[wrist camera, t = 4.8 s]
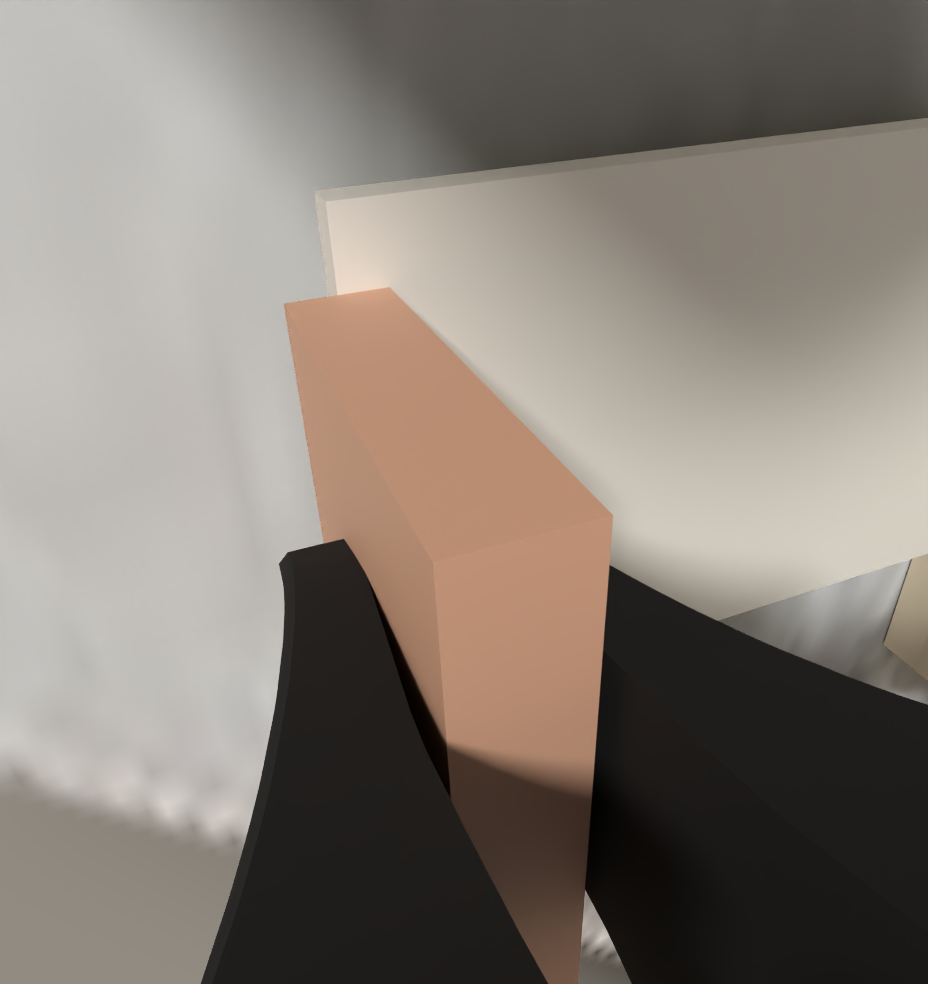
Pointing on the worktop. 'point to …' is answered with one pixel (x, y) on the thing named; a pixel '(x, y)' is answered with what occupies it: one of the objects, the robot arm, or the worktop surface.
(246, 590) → the worktop surface
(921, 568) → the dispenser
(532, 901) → the beige angled piece
